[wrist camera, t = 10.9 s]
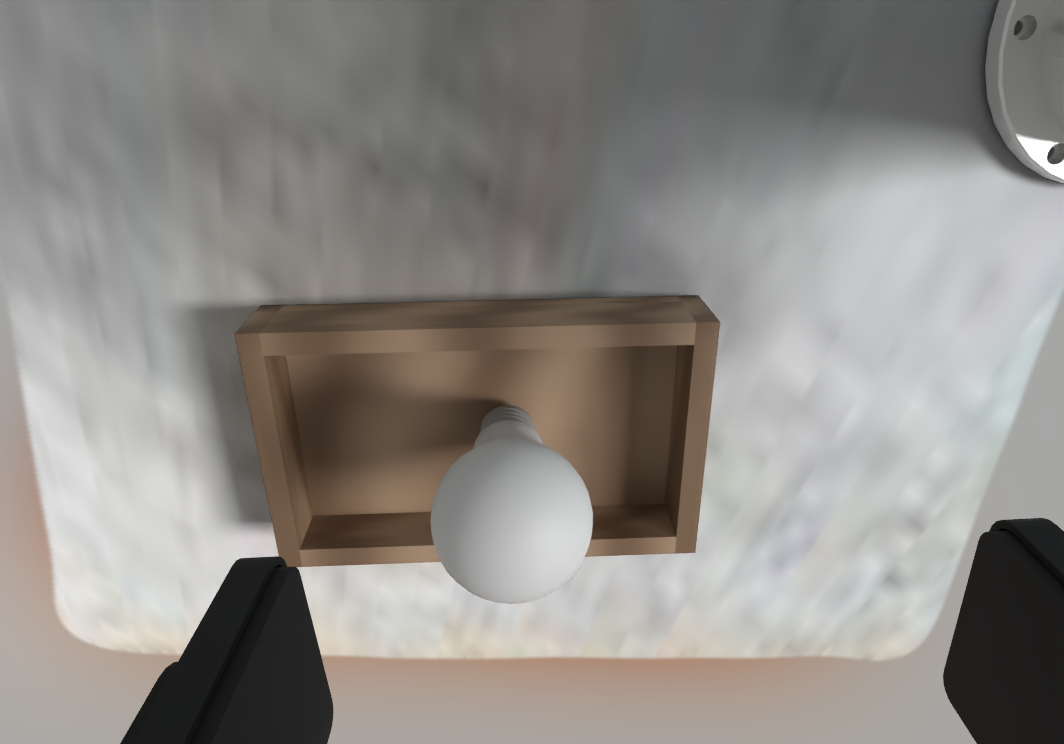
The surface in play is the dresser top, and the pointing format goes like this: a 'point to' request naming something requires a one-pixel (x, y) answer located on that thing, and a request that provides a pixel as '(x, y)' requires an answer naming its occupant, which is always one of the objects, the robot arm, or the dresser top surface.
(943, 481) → the dresser top surface
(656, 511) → the walnut tray
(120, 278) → the dresser top surface
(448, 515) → the lightbulb
